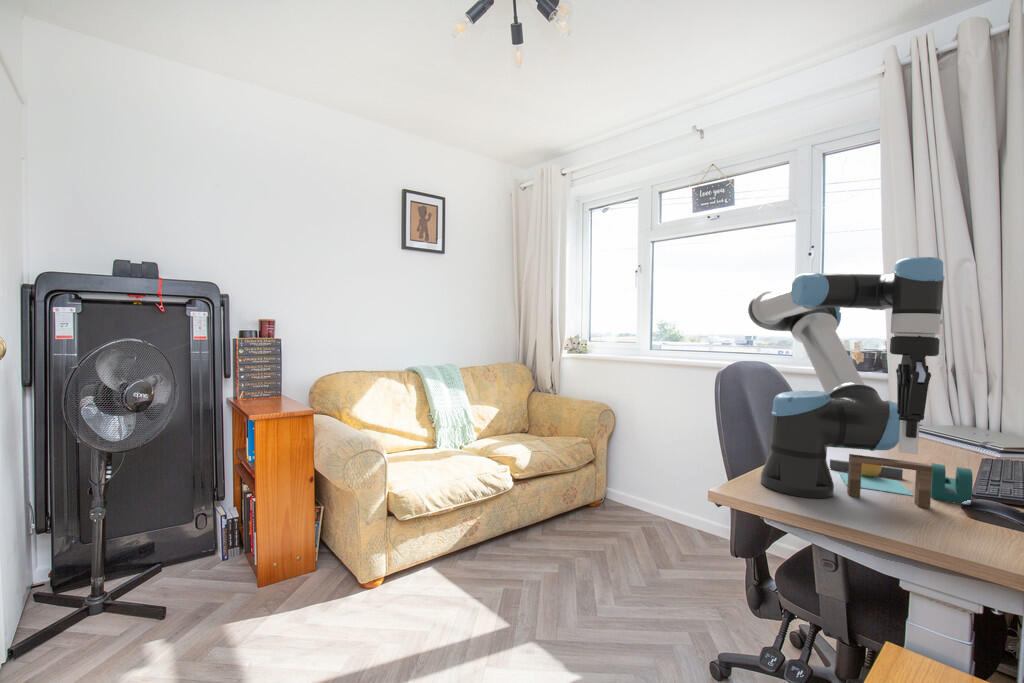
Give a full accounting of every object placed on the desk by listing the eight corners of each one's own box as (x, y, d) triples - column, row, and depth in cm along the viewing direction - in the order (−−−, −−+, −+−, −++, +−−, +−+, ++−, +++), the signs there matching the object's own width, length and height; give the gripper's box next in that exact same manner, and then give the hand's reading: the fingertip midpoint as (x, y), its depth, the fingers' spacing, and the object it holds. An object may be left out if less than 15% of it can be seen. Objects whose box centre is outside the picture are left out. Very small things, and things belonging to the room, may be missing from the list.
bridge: (929, 508, 103) (932, 467, 103) (849, 495, 110) (851, 456, 110) (925, 504, 106) (927, 463, 106) (847, 492, 113) (849, 453, 112)
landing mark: (846, 485, 118) (846, 485, 118) (838, 472, 129) (838, 472, 129) (913, 496, 112) (913, 495, 112) (898, 481, 123) (898, 480, 123)
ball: (858, 465, 124) (856, 450, 128) (855, 479, 127) (853, 464, 131) (884, 468, 122) (881, 453, 126) (880, 483, 125) (877, 467, 129)
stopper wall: (830, 469, 133) (830, 460, 133) (829, 467, 134) (829, 459, 134) (902, 479, 125) (902, 469, 125) (900, 477, 127) (901, 468, 127)
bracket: (971, 507, 106) (973, 472, 106) (931, 499, 110) (933, 466, 110) (961, 488, 120) (963, 457, 120) (926, 482, 124) (928, 452, 124)
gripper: (951, 336, 87) (943, 463, 88) (928, 336, 99) (921, 448, 99) (899, 334, 91) (892, 456, 91) (883, 335, 102) (877, 443, 103)
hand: (907, 452), depth 95 cm, fingers closed
